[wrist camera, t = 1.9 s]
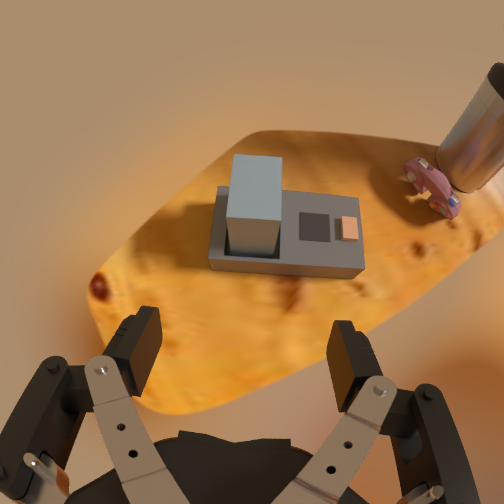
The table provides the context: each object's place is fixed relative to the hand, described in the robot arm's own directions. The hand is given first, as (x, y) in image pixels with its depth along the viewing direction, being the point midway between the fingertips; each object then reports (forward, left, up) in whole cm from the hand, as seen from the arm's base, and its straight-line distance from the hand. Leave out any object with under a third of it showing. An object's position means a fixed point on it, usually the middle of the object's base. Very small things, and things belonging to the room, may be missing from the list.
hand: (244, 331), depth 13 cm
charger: (0, -12, -14) cm, 18 cm away
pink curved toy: (-23, -20, -16) cm, 35 cm away
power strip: (-4, -12, -16) cm, 20 cm away
